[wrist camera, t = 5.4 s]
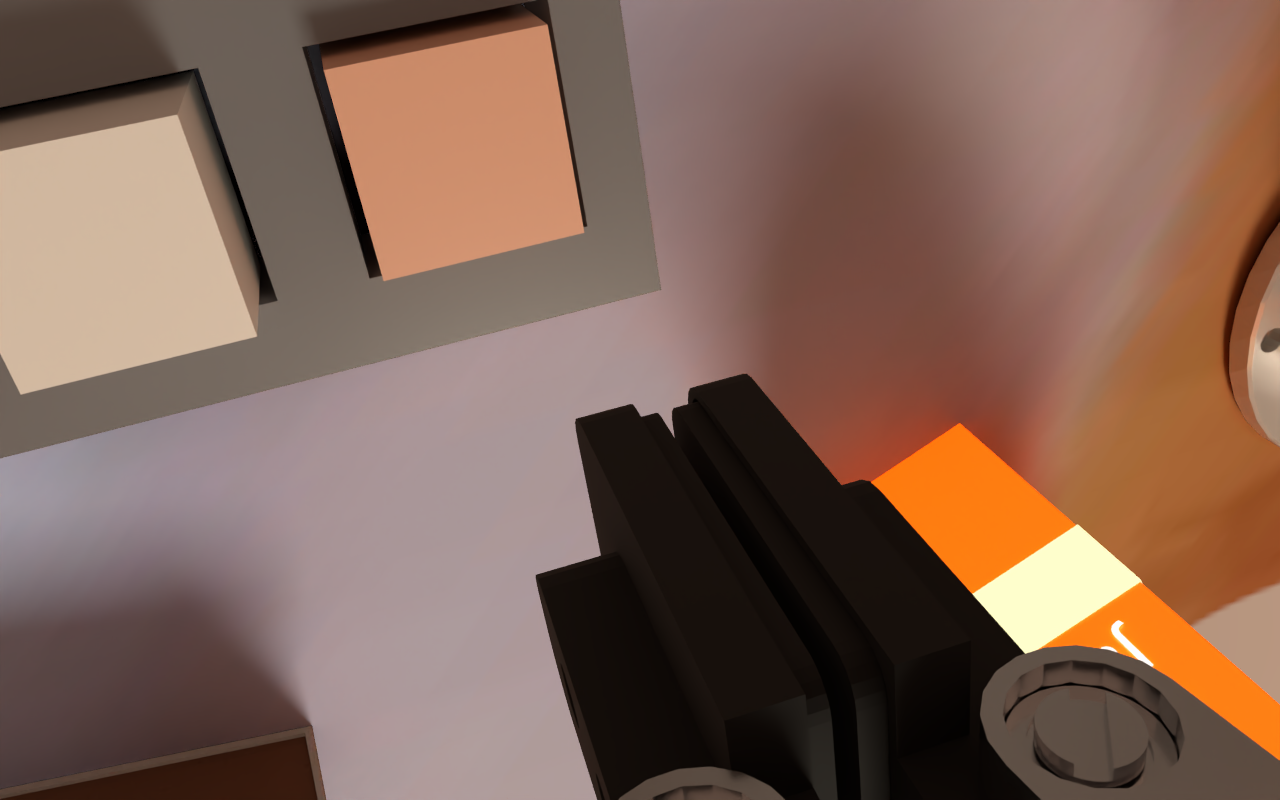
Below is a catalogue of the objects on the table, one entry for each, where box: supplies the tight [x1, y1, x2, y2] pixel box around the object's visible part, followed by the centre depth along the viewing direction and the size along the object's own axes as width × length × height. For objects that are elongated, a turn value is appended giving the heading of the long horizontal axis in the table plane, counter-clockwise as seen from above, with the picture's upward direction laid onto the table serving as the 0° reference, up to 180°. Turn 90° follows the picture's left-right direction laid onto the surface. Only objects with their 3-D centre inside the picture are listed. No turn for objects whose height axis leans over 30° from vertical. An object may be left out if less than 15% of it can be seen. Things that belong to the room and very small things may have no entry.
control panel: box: [0, 0, 661, 458], centre depth 23 cm, size 22×9×3 cm, turn 98°
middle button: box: [0, 71, 261, 394], centre depth 21 cm, size 4×4×4 cm
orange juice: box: [871, 423, 1280, 760], centre depth 28 cm, size 8×9×20 cm
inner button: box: [319, 4, 584, 281], centre depth 24 cm, size 4×4×4 cm
